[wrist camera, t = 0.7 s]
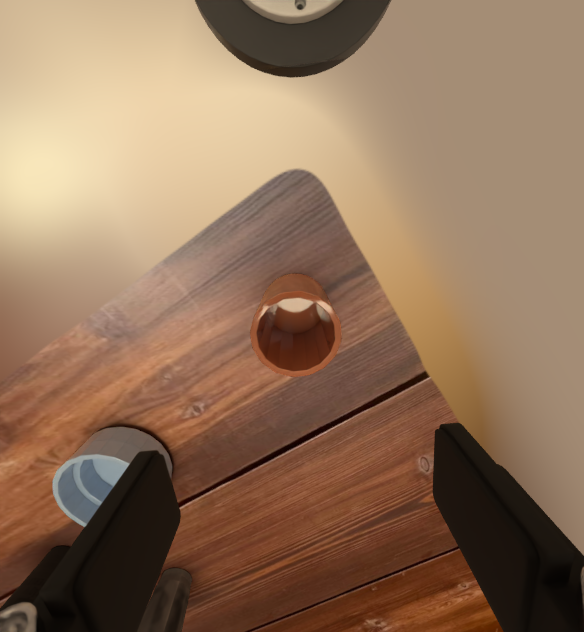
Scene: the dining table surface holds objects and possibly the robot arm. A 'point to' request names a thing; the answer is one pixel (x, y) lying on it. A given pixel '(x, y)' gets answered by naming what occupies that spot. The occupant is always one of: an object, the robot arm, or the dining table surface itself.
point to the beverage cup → (168, 603)
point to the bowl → (99, 469)
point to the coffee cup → (295, 327)
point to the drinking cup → (37, 578)
